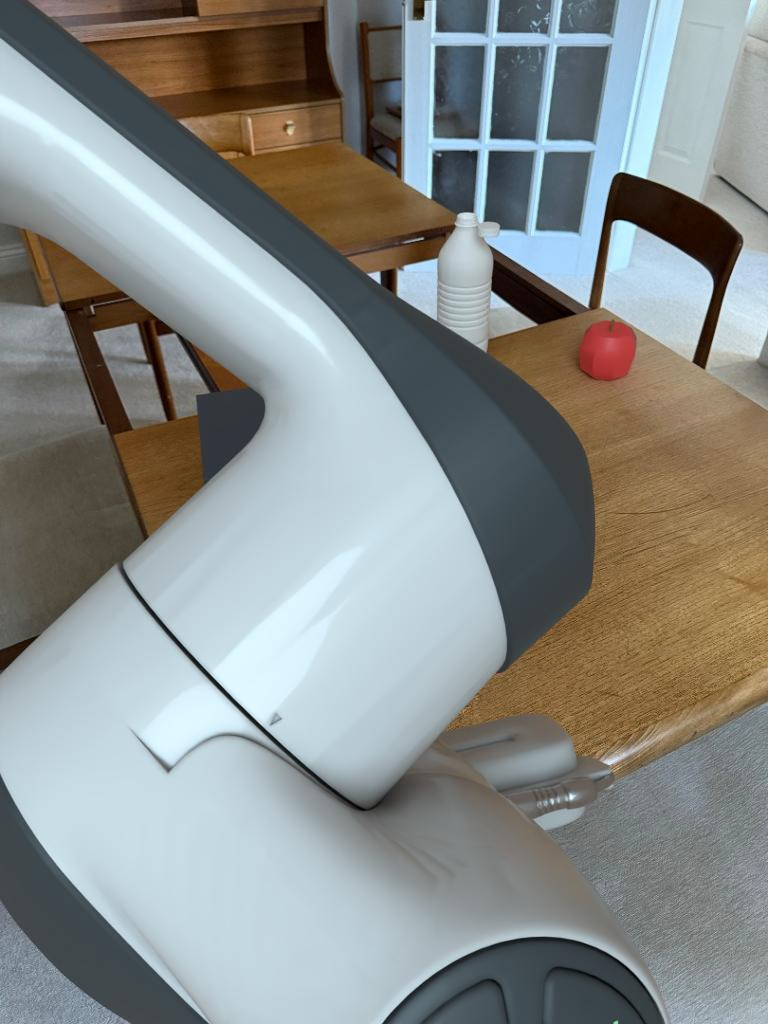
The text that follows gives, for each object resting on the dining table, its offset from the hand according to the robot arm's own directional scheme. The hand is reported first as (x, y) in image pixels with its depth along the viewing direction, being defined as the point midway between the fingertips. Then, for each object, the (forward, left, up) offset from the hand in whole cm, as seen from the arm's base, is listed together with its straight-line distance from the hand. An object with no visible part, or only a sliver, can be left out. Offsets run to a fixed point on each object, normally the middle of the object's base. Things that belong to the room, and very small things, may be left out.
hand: (350, 764), depth 42 cm
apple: (+48, +60, -15) cm, 78 cm away
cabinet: (0, +45, -14) cm, 47 cm away
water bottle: (+26, +56, -15) cm, 63 cm away
